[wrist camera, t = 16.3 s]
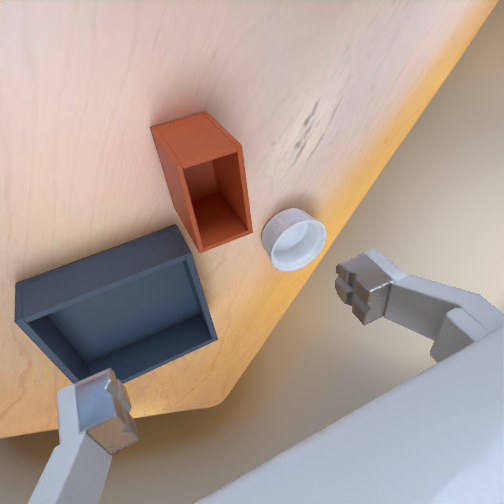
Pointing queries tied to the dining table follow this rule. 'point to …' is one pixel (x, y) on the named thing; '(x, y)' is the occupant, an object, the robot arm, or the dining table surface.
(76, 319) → the outer bin
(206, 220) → the tote
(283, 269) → the ramekin
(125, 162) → the dining table surface
